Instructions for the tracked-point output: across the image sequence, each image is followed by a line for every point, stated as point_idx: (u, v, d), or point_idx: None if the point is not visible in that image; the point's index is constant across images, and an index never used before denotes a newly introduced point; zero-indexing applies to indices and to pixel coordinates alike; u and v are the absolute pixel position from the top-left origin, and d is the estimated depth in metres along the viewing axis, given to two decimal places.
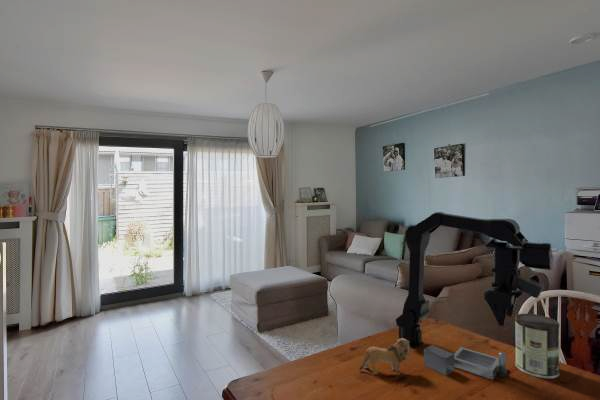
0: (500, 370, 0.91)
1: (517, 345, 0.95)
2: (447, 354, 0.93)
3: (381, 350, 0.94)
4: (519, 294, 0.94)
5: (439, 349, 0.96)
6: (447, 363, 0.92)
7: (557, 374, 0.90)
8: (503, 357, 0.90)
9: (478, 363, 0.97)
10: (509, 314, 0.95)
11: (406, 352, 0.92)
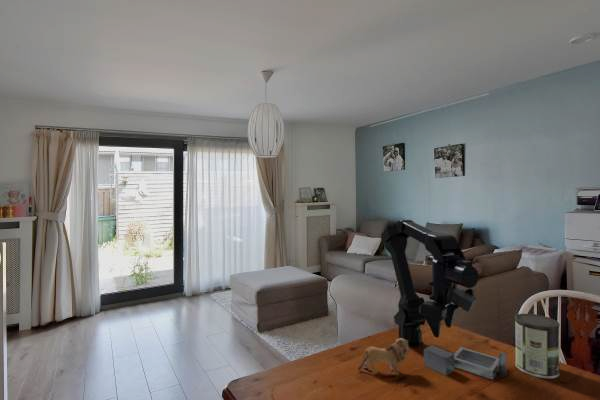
0: (500, 370, 0.91)
1: (517, 345, 0.95)
2: (447, 354, 0.93)
3: (380, 350, 0.94)
4: (457, 306, 0.98)
5: (439, 349, 0.97)
6: (447, 363, 0.92)
7: (557, 374, 0.90)
8: (503, 357, 0.90)
9: (478, 363, 0.97)
10: (448, 325, 1.00)
11: (405, 352, 0.93)
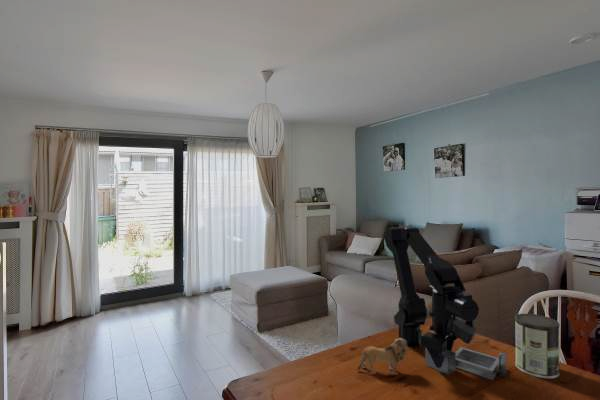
0: (500, 370, 0.91)
1: (517, 345, 0.95)
2: (448, 353, 0.94)
3: (379, 350, 0.94)
4: (456, 337, 0.98)
5: None
6: (449, 362, 0.92)
7: (557, 374, 0.90)
8: (503, 357, 0.90)
9: (478, 363, 0.97)
10: None
11: (404, 352, 0.93)
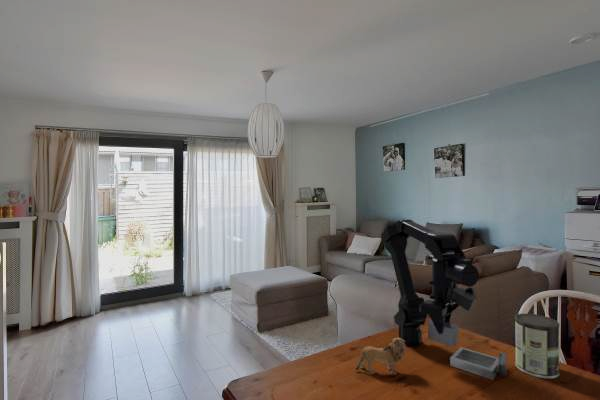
0: (500, 370, 0.91)
1: (517, 345, 0.95)
2: (452, 326, 0.95)
3: (377, 350, 0.94)
4: (454, 308, 0.96)
5: None
6: (454, 334, 0.93)
7: (557, 374, 0.90)
8: (503, 357, 0.90)
9: (478, 363, 0.97)
10: None
11: (402, 351, 0.93)
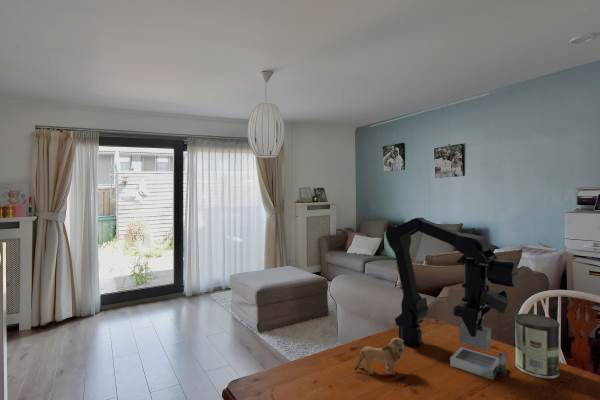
0: (500, 370, 0.91)
1: (517, 345, 0.95)
2: (485, 329, 0.94)
3: (376, 350, 0.94)
4: (486, 310, 0.96)
5: None
6: (487, 337, 0.93)
7: (557, 374, 0.90)
8: (503, 357, 0.90)
9: (478, 363, 0.97)
10: None
11: (401, 351, 0.93)
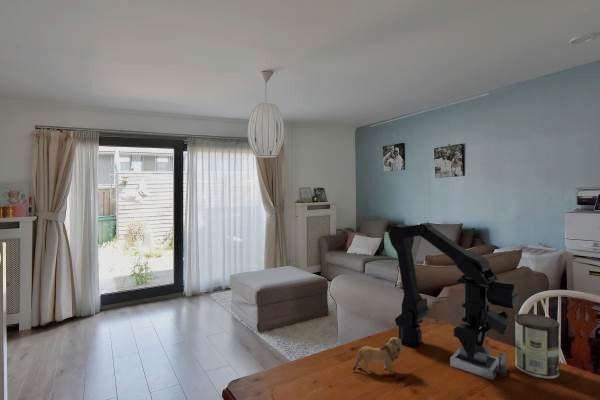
0: (500, 370, 0.91)
1: (517, 345, 0.95)
2: (484, 350, 0.95)
3: (374, 350, 0.94)
4: (488, 328, 0.98)
5: None
6: (487, 359, 0.93)
7: (557, 374, 0.90)
8: (503, 357, 0.90)
9: None
10: None
11: (399, 351, 0.93)
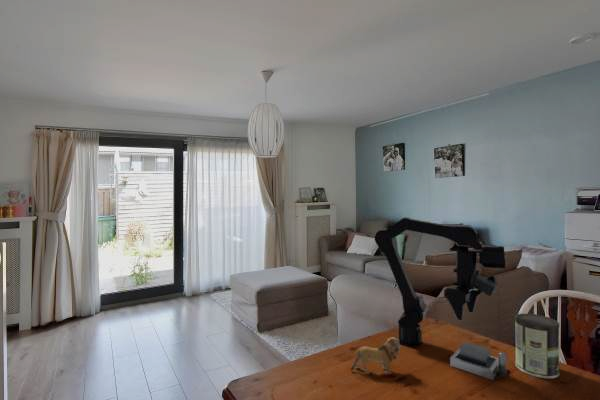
0: (500, 370, 0.91)
1: (517, 345, 0.95)
2: (484, 350, 0.95)
3: (372, 350, 0.94)
4: (479, 292, 1.05)
5: (474, 345, 0.97)
6: (487, 359, 0.93)
7: (557, 374, 0.90)
8: (503, 357, 0.90)
9: None
10: (471, 310, 1.07)
11: (397, 351, 0.93)
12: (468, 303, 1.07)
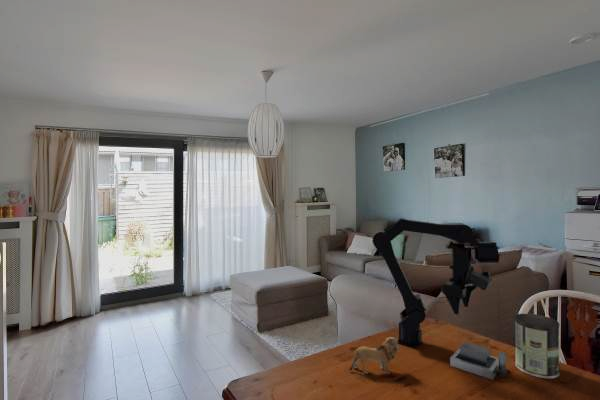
0: (500, 370, 0.91)
1: (517, 345, 0.95)
2: (484, 350, 0.95)
3: (371, 350, 0.94)
4: (474, 288, 1.10)
5: (474, 345, 0.97)
6: (487, 359, 0.93)
7: (557, 374, 0.90)
8: (503, 357, 0.90)
9: None
10: (466, 305, 1.11)
11: (395, 351, 0.93)
12: (463, 298, 1.12)
